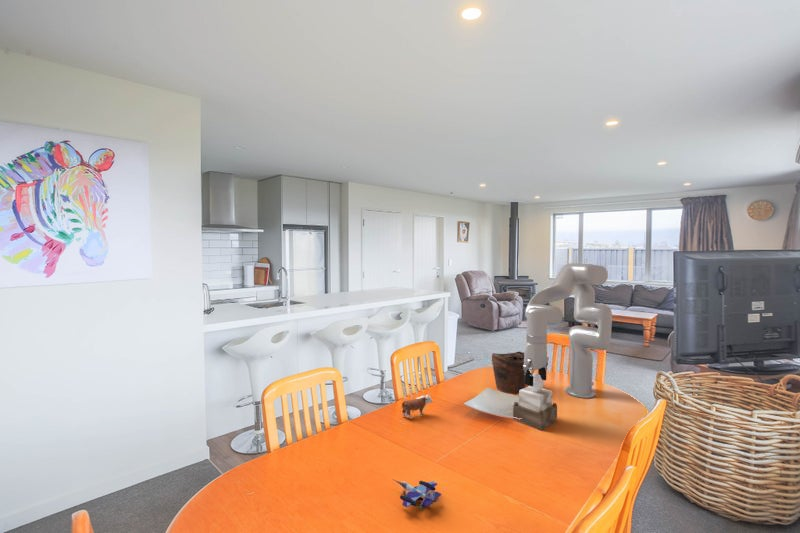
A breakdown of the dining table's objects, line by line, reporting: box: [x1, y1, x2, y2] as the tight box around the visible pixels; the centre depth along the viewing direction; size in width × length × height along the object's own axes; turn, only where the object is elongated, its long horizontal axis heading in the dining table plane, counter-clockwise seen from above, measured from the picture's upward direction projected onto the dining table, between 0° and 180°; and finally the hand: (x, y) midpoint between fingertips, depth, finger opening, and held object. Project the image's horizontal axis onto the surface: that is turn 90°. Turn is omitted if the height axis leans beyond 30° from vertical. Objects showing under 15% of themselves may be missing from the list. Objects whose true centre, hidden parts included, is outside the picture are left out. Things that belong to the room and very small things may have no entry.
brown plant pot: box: [491, 351, 526, 394], centre depth 192 cm, size 18×20×18 cm
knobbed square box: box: [512, 385, 558, 431], centre depth 157 cm, size 12×12×12 cm
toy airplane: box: [393, 479, 442, 511], centre depth 109 cm, size 13×14×4 cm
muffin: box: [529, 372, 545, 392], centre depth 157 cm, size 6×6×7 cm
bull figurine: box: [401, 394, 434, 420], centre depth 162 cm, size 4×13×8 cm, turn 112°
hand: (535, 382), depth 157 cm, fingers open, 9 cm apart
